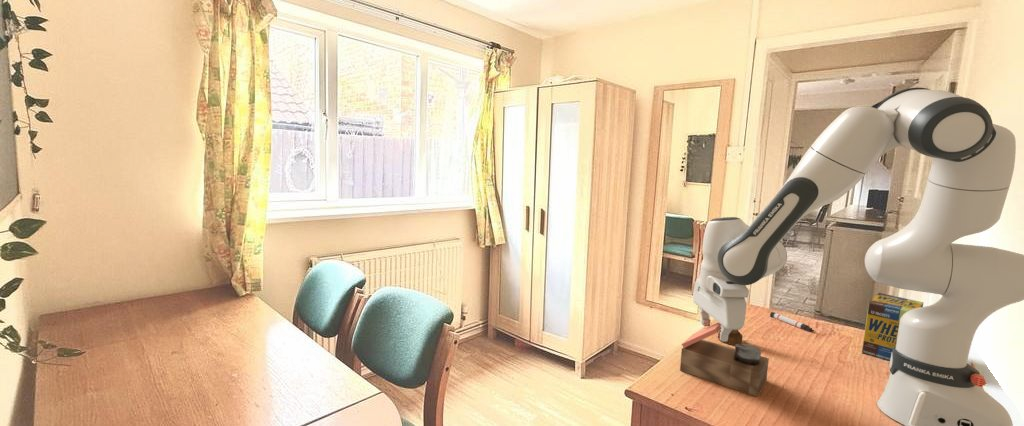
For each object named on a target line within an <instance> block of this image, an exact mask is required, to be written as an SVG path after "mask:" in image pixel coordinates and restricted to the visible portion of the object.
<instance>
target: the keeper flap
mask: <svg viewBox="0 0 1024 426" xmlns="http://www.w3.org/2000/svg"><path fill="white" fill-rule="evenodd" d="M721 329H722V328H721V324H720V323H719V322H718V321H717V322H716V323H714V324H712V325H710V326H706V327H705V328H703V329H702V330H699V331H697V332H695V333H693V334H691V335H690V336H689V337H688V338H686V340H684V342H682V343H681V346H682V348H683V347H687V346H689V345H691V344H693V343H695V342H698V341H700V340H702V339H703V340H705V339H706V338H708V337H711V336H714V335H715V334H718V332H719V331H720V330H721Z"/></svg>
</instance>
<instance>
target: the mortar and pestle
mask: <svg viewBox="0 0 1024 426" xmlns="http://www.w3.org/2000/svg"><path fill="white" fill-rule="evenodd" d="M739 331H740V330H732V331H731V332H730V334H729V335H728V341H727V342H723V343H724V344H727V345H732V346H735V345H736V344H739V343H743V335H742V333H741V332H739ZM719 332H721V330H720V331H719ZM719 341H720V342H722V341H721V340H719Z"/></svg>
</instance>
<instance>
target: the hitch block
mask: <svg viewBox="0 0 1024 426" xmlns="http://www.w3.org/2000/svg"><path fill="white" fill-rule="evenodd" d="M734 353H735V347H730V346H728V345H727V346H726V345H724V344H720V343H716V342H713V341H708V340H705V339H702V340H700V341H698V342H695V343H693V344H691V345H689V346H687V347H683V346H682V348H681V353H680V354H681V355H680V364H679V366H680V367H679V371H680V372H684V373H686V374H688V375H689V374H690V375H692V376H696V377H698V378H700V379H704V380H706V381H710V382H712V383H715V384H718V385H722V386H724V387H728V388H730V389H733V390H736V391H738V392H743V393H745V394H748V395H751V396H754V397H758V396H759V395H760V392H761V391H762V390H763V388H764V386H765V385H766V382H767V377H768V368H769V360H770V358H768V357H765V356H762V355H761V356H760V364H758V365H753V366H752V365H747V364H744V363H741V362H739V361H737V360H736V359H735V358H734Z"/></svg>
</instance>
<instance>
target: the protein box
mask: <svg viewBox="0 0 1024 426" xmlns="http://www.w3.org/2000/svg"><path fill="white" fill-rule="evenodd" d="M920 307H924V302H923V301H919V300H915V299H910V298H905V297H900V296H897V295H890V294H886V293H881V292H878V293H877V294H876V295H875V296H874V297H873V298H872V299H871V301H869V302H868V307H867V313H866V319H865V321H866V322H865V325H864V334H863V339H862V340H863V342H862V350H861V353H862V354H863V355H867V356H871V357H873V358H874V357H875V358H878V359H880V360H881V359H882V360H886V361H888V362H890V359H891V353H892V351H893V347H894V346H896V342H897V336H898V329H899V323H900V318H901V317H902V315H903V314H905V313H906V312H907V311H910V310H912V309H915V308H920Z"/></svg>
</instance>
